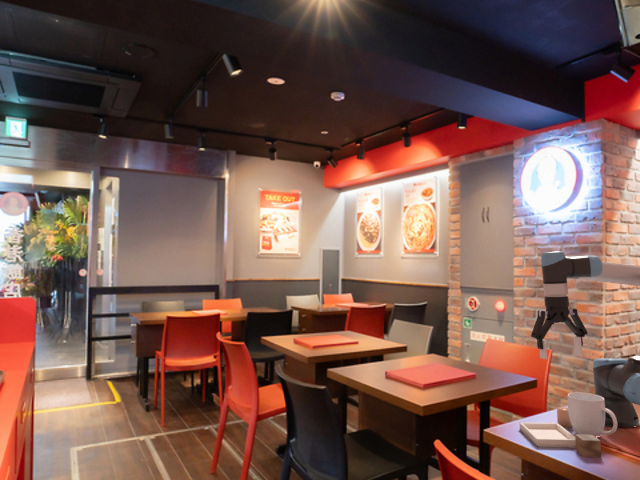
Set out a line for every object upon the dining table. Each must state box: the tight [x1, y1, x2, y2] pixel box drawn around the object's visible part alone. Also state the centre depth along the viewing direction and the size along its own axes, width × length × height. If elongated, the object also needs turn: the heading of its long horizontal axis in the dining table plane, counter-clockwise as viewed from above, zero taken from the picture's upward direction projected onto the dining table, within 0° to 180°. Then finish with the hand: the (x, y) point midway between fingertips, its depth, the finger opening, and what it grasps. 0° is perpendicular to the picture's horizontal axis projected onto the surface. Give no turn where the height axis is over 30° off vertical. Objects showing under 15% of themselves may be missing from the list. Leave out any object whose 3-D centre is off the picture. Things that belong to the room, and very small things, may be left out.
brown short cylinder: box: [556, 406, 573, 429], centre depth 162 cm, size 5×5×6 cm
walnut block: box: [574, 433, 602, 458], centre depth 137 cm, size 5×5×5 cm
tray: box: [519, 422, 576, 449], centre depth 150 cm, size 13×16×2 cm
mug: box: [567, 391, 618, 437], centre depth 151 cm, size 15×11×13 cm
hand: (561, 357), depth 155 cm, fingers open, 13 cm apart
